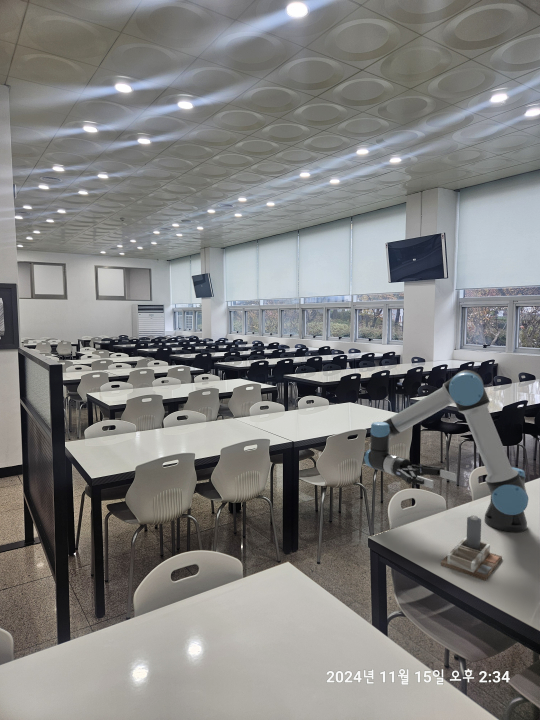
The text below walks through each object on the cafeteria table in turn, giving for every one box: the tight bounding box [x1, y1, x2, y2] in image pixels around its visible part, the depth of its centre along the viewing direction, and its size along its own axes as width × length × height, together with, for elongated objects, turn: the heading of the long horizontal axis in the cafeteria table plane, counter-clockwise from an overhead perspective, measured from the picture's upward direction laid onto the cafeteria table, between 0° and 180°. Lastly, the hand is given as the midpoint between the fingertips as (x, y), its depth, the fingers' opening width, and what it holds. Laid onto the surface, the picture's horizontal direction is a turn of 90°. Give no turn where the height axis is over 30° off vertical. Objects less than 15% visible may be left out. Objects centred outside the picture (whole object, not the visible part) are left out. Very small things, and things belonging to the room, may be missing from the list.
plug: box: [466, 515, 482, 551], centre depth 160 cm, size 4×4×13 cm
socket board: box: [440, 536, 503, 581], centre depth 156 cm, size 18×14×4 cm
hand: (444, 481), depth 168 cm, fingers open, 13 cm apart
